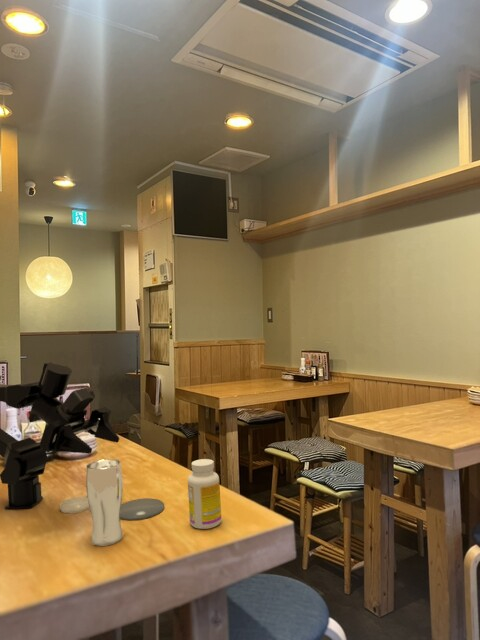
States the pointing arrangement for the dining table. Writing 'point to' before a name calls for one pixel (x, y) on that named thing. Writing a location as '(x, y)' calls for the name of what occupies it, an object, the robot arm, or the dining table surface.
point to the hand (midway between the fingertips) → (105, 445)
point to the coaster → (141, 509)
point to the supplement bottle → (204, 495)
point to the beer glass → (105, 500)
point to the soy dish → (74, 505)
